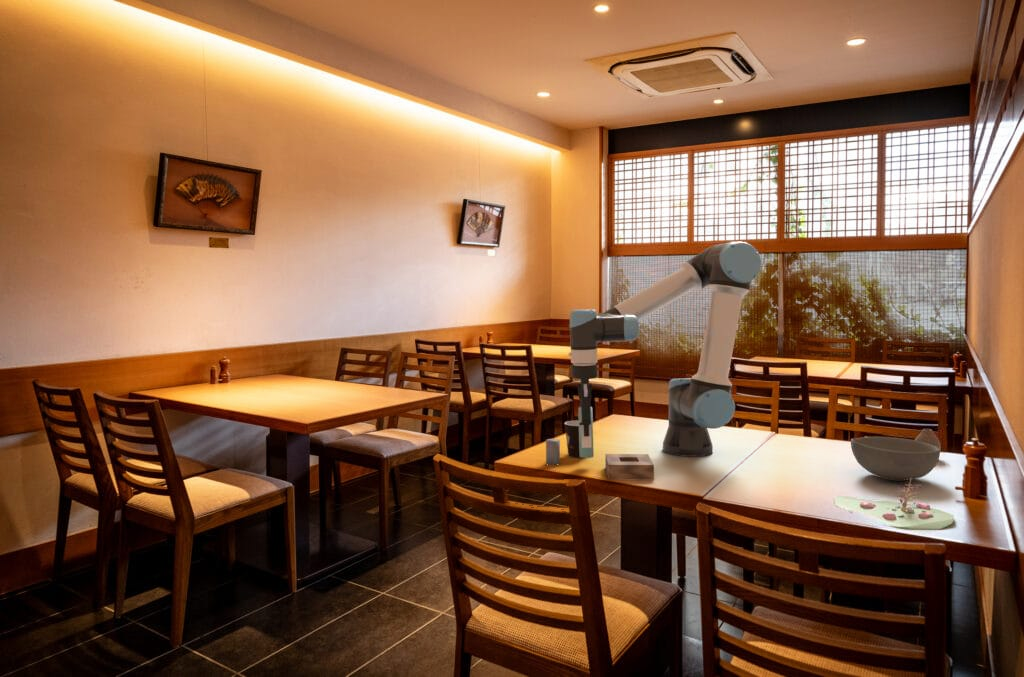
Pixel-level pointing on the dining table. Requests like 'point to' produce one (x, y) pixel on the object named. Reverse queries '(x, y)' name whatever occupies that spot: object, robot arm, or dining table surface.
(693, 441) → the robot arm
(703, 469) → the dining table surface
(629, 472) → the socket block
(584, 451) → the teal dowel
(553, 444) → the grey-blue block
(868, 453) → the bowl
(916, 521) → the plant
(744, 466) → the dining table surface
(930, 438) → the vase
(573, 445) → the coffee mug
